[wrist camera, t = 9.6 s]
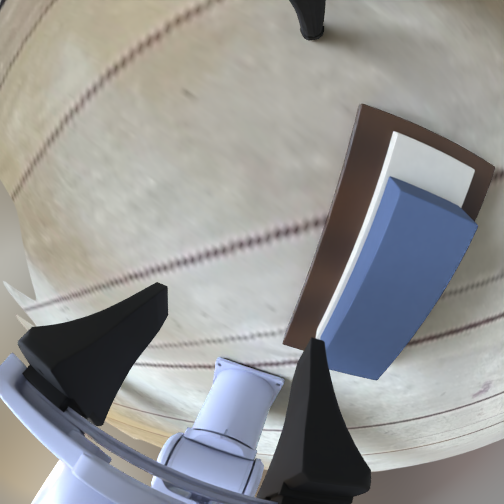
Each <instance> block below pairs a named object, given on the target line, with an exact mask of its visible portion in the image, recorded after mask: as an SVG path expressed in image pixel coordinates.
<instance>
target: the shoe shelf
mask: <svg viewBox="0 0 504 504" xmlns="http://www.w3.org/2000/svg"><path fill="white" fill-rule="evenodd" d="M393 131H395V132H398V133H400V134H403V135H405V136H408V137H410V138H412V139H415V140H417V141H419V142H422V143H424V144H426V145H428V146H430V147H432V148H435V149H437V150H439V151H441V152H443V153H445V154H447V155H449V156H451V157H453V158H455V159H457V160H458V161H460V162H462V163H464V164H466V165H468V166H469V167H471V168H473V169H474V170H475V172H474V175H473V178H472V181H471V183H470V186H469V189H468V192H467V194H466V197H465V199H464V202H463V204H462V207H461V209H462V210H463V211H464V212H465V213H466V214H467V215H469V216H470V217H471V219H472V220H473V221H474V222H475V220H476V218H477V216H478V213H479V211H480V208H481V206H482V203H483V201H484V198H485V196H486V193H487V190H488V188H489V185H490V182H491V179H492V176H493V173H494V170H495V166H493V165H492V164H490V163H488V162H487V161H485V160H484V159H482V158H480V157H479V156H477V155H475V154H474V153H472V152H470V151H468V150H467V149H465V148H463V147H461V146H459V145H458V144H456V143H454V142H452V141H450V140H448V139H446V138H444V137H442V136H440V135H438V134H436V133H434V132H432V131H430V130H428V129H426V128H423V127H421V126H419V125H417V124H414V123H412V122H410V121H407V120H405V119H402V118H400V117H397V116H395V115H392V114H390V113H387V112H385V111H382V110H379V109H376V108H373V107H371V106H368V105H365V104H360V105H359V107H358V111H357V115H356V119H355V123H354V127H353V131H352V135H351V139H350V142H349V146H348V150H347V153H346V157H345V160H344V164H343V167H342V171H341V174H340V178H339V181H338V185H337V188H336V191H335V194H334V198H333V201H332V204H331V207H330V211H329V214H328V217H327V220H326V223H325V226H324V229H323V232H322V235H321V238H320V241H319V244H318V247H317V250H316V253H315V256H314V258H313V261H312V264H311V267H310V270H309V273H308V275H307V278H306V281H305V284H304V286H303V289H302V292H301V294H300V297H299V300H298V302H297V305H296V308H295V310H294V313H293V315H292V318H291V320H290V323H289V325H288V328H287V330H286V333H285V336H284V340H283V344H284V345H287V346H290V347H293V348H297V349H300V350H305V348H306V346H307V344H308V342H309V341H310V339H311V337H313V338H316V332H317V328H318V326H319V324H320V322H321V320H322V318H323V316H324V314H325V312H326V310H327V308H328V306H329V303H330V301H331V299H332V297H333V295H334V293H335V290H336V288H337V286H338V284H339V281H340V279H341V277H342V275H343V272H344V270H345V268H346V265H347V263H348V260H349V258H350V256H351V253H352V251H353V248H354V246H355V243H356V241H357V238H358V236H359V233H360V231H361V228H362V225H363V223H364V220H365V217H366V215H367V212H368V209H369V206H370V204H371V201H372V198H373V195H374V192H375V189H376V186H377V183H378V180H379V177H380V174H381V171H382V168H383V165H384V161H385V158H386V155H387V152H388V148H389V145H390V141H391V138H392V134H393Z"/></svg>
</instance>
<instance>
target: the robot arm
mask: <svg viewBox="0 0 504 504" xmlns="http://www.w3.org/2000/svg"><path fill="white" fill-rule="evenodd" d="M167 316H168V288H167V286H165V285H163V284H160V283H158V282H157V283H155V284H153V285H151V286H149V287H147V288H145V289H144V290H142V291H140V292H138V293H136V294H135V295H133V296H131V297H129V298H127V299H125V300H123V301H121V302H119V303H117V304H115V305H113V306H111V307H109V308H107V309H105V310H102V311H100V312H97V313H95V314H92V315H89V316H87V317H83V318H80V319H76V320H73V321H69V322H65V323H60V324H55V325H48V326H38V327H32V328H31V329H30V330H29V331H28V332H27V333H26V334H25V335H24V336H23V337H22V338H21V339H20V340H19V341H18V346H19V348H20V350H21V351H22V353H23V354H24V356H25V358H26V359H27V361H28V362H29V364H30V365H29V366H28V368H27V367H26V366H25V365H24V364H23V363H22V361H21V360H19V358H18V357H17V356H16V355H15V354H14V353H11V354H10V355H9V356H8V357H7V359H6V360H5V361H4V362H3V363H2V364H1V365H0V397H1V398H2V400H3V401H4V402H5V403H6V405H7V406H8V407H9V408H10V410H11V411H12V412H13V413H14V414H15V415H16V417H17V418H18V419H19V420H20V421H21V422H22V423H23V424H24V425H25V427H26V428H27V429H28V430H29V431H30V432H31V433H32V434H33V435H34V436H35V437H36V438H37V439H38V440H39V441H40V442H41V443H42V444H43V445H44V446H46V448H48V449H49V450H50V451H51V452H52V453H53V454H54V455H55V456H56V457H57V458H59V459H60V460H59V461H58V463H57V464H56V466H55V467H54V469H53V470H52V472H51V473H50V475H49V477H48V478H47V479H46V481H45V483H44V484H43V486H42V487H41V489H40V491H39V492H38V494H37V495H36V497H35V498H34V500H33V501H32V503H31V504H351V503H352V500H353V497H354V496H357V495H360V494H363V493H366V492H367V491H369V489H370V484H371V470H370V468H369V467H368V465H367V464H366V462H365V461H364V459H363V457H362V456H361V454H360V452H359V451H358V449H357V447H356V445H355V443H354V441H353V439H352V437H351V435H350V433H349V431H348V429H347V427H346V424H345V422H344V420H343V417H342V414H341V412H340V409H339V406H338V403H337V400H336V396H335V393H334V389H333V385H332V381H331V376H330V372H329V367H328V362H327V356H326V348H325V342H324V341H323V340H319V339H316V338H313V337H311V339H310V341H309V342H308V344H307V346H306V348H305V350H304V352H303V354H302V356H301V357H300V359H299V361H298V363H297V367H296V370H295V374H294V377H293V381H292V386H291V391H290V397H289V402H288V408H287V413H286V418H285V422H284V426H283V430H282V433H281V436H280V439H279V442H278V445H277V448H276V450H275V453H274V456H273V459H272V461H271V464H270V466H269V469H268V471H267V474H266V476H265V479H264V481H263V483H262V486H261V488H260V490H259V492H258V494H257V497H256V498H255V497H254V496H255V493H256V491H257V489H258V486H259V483H260V480H261V477H262V474H263V470H264V465H263V463H262V462H261V459H258V458H256V459H255V456H256V453H257V450H256V448H257V445H258V442H259V439H260V436H261V433H262V430H263V427H264V424H265V421H266V418H267V414H268V411H269V409H270V407H271V405H272V404H273V402H274V400H275V398H276V397H277V395H278V393H279V391H280V389H281V388H282V386H283V384H284V381H285V380H284V379H283V378H281V377H277V376H274V375H271V374H268V373H264V372H261V371H258V370H255V369H252V368H249V367H246V366H243V365H240V364H238V363H235V362H232V361H229V360H226V359H224V358H221V357H219V358H217V360H216V366H215V373H214V380H213V386H212V388H211V390H210V392H209V394H208V396H207V398H206V401H205V403H204V405H203V407H202V409H201V411H200V413H199V415H198V417H197V419H196V421H195V423H194V425H193V427H192V428H189V427H188V428H187V430H186V432H185V434H184V433H182V432H178V433H177V434H174V435H172V436H171V437H170V438H169V439H168V440H167V441H166V443H165V444H164V446H163V448H162V450H161V452H160V454H159V456H158V459H157V461H155V460H153V459H151V458H149V457H146V456H145V455H143V454H141V453H139V452H137V451H136V450H134V449H132V448H130V447H128V446H127V445H125V444H123V443H122V442H120V441H118V440H117V439H115V438H113V437H112V436H110V435H108V434H107V433H105V432H104V431H102V430H101V429H99V428H98V427H96V426H102V425H103V423H104V421H105V418H106V416H107V414H108V411H109V409H110V407H111V405H112V402H113V400H114V398H115V396H116V394H117V392H118V390H119V389H120V387H121V385H122V383H123V381H124V379H125V378H126V376H127V374H128V372H129V371H130V369H131V367H132V366H133V364H134V363H135V362H136V360H137V359H138V358H139V356H140V355H141V354H142V352H143V351H144V350H145V349H146V347H147V346H148V345H149V343H150V342H151V341H152V339H153V338H154V337H155V336H156V334H157V333H158V332H159V330H160V328H161V327H162V325H163V323H164V322H165V320H166V318H167ZM83 417H84V418H83ZM86 419H87V420H86ZM90 422H91V423H90ZM93 424H94V425H93ZM84 434H85V435H87V436H88V437H90V438H91V439H93V440H94V441H95V442H97V443H98V444H100V445H101V446H103V447H104V448H106V449H107V450H109V451H111V452H112V453H114V454H116V455H117V456H119V457H121V458H122V459H124V460H126V461H127V462H129V463H131V464H133V465H135V466H137V467H138V468H140V469H142V470H144V471H146V472H148V473H150V474H152V475H154V477H153V479H152V482H151V484H152V486H151V487H149V486H148V485H146V484H144V483H142V482H140V481H138V480H136V479H134V478H132V477H131V476H129V475H127V474H125V473H124V472H122V471H120V470H118V469H117V468H115V467H113V466H112V465H110V464H109V463H110V462H111V458H110V457H109V456H108V455H106V454H105V453H104V452H103V451H102V450H100V448H99V447H97V446H96V445H95V444H93V443H92V442H91V441H89V440H88V439H87V438H85V435H84ZM254 459H255V460H254Z"/></svg>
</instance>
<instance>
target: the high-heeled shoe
mask: <svg viewBox="0 0 504 504" xmlns="http://www.w3.org/2000/svg"><path fill="white" fill-rule="evenodd" d="M289 1H290V2H291V4H292V5H293V7H294V9H295V11H296V13H297V16H298V19H299V23H300V26H301V28H300V31H301V33H302V35H303V37H304V38H305V39H307V40H317V39H319V38H320V37H321V36H322V35H323V32H324V26H323V22H324V13H325V1H326V0H289Z"/></svg>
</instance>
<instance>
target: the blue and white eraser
mask: <svg viewBox="0 0 504 504" xmlns="http://www.w3.org/2000/svg"><path fill="white" fill-rule="evenodd" d="M474 172H475V170H474V169H473V168H471V167H469V166H468V165H466V164H464V163H462V162H460V161H458V160H457V159H455V158H453V157H451V156H449V155H447V154H445V153H443V152H441V151H439V150H437V149H435V148H432V147H430V146H428V145H426V144H424V143H422V142H419V141H417V140H415V139H412V138H410V137H408V136H405V135H403V134H400V133H398V132H395V131H393V134H392V138H391V141H390V145H389V148H388V152H387V155H386V158H385V161H384V165H383V168H382V171H381V174H380V177H379V180H378V183H377V186H376V189H375V192H374V195H373V198H372V201H371V204H370V206H369V209H368V212H367V215H366V217H365V220H364V223H363V225H362V228H361V231H360V233H359V236H358V238H357V241H356V243H355V246H354V248H353V251H352V253H351V256H350V258H349V260H348V263H347V265H346V268H345V270H344V272H343V275H342V277H341V279H340V281H339V284H338V286H337V288H336V290H335V293H334V295H333V297H332V299H331V301H330V303H329V306H328V308H327V310H326V312H325V314H324V316H323V318H322V320H321V322H320V324H319V326H318V328H317V332H316V339H319V340H323V341H324V342H325V348H326V356H327V362H328V367H329V369H330V370H334V371H338V372H342V373H346V374H350V375H354V376H359V377H363V378H368V379H372V380H378V379H379V377H380V376H381V375H382V374H383V373H384V372H385V371H386V369H387V368H388V367H389V366H390V365H391V364H392V362H393V361H394V360H395V359H396V357H397V356H398V355H399V354H400V353H401V351H402V350H403V349H404V347H405V346H406V345H407V344H408V342H409V341H410V340H411V338H412V337H413V336H414V334H415V333H416V332H417V330H418V329H419V328H420V326H421V325H422V323H423V322H424V320H425V319H426V318H427V316H428V315H429V313H430V312H431V310H432V309H433V307H434V306H435V304H436V303H437V301H438V300H439V298H440V296H441V295H442V293H443V292H444V290H445V288H446V287H447V285H448V283H449V282H450V280H451V278H452V276H453V275H454V273H455V271H456V269H457V268H458V266H459V264H460V262H461V260H462V258H463V256H464V255H465V253H466V251H467V249H468V247H469V245H470V243H471V241H472V239H473V236H474V234H475V232H476V230H477V228H478V225H477V224H476V223H475V222H474V221H473V220H472V219H471V217H470V216H469V215H467V214H466V213H465V212H464V211H463V210H462V209H461V207H462V204H463V202H464V199H465V197H466V194H467V192H468V189H469V186H470V183H471V181H472V178H473V175H474Z"/></svg>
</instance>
